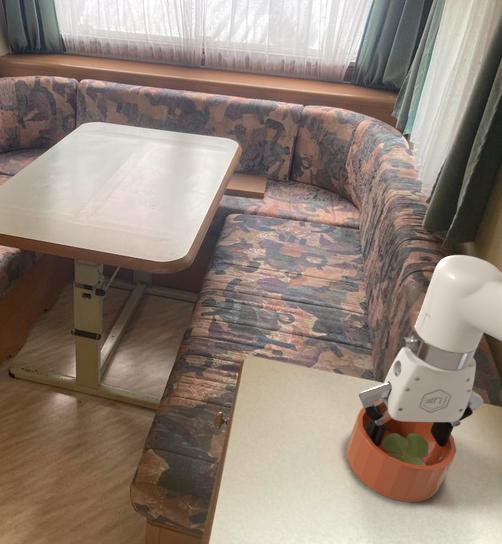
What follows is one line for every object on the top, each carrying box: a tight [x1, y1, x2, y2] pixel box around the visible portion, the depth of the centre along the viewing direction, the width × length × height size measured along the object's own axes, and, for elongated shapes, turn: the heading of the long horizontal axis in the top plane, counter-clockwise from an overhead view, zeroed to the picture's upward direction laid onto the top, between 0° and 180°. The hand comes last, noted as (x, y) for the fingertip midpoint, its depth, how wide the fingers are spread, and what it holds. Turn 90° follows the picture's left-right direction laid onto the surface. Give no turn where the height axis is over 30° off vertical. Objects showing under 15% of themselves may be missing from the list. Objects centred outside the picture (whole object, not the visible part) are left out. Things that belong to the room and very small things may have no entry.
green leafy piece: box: [383, 433, 428, 466], centre depth 87 cm, size 7×8×6 cm
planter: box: [346, 399, 457, 503], centre depth 86 cm, size 13×13×7 cm
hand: (405, 438), depth 84 cm, fingers open, 9 cm apart
